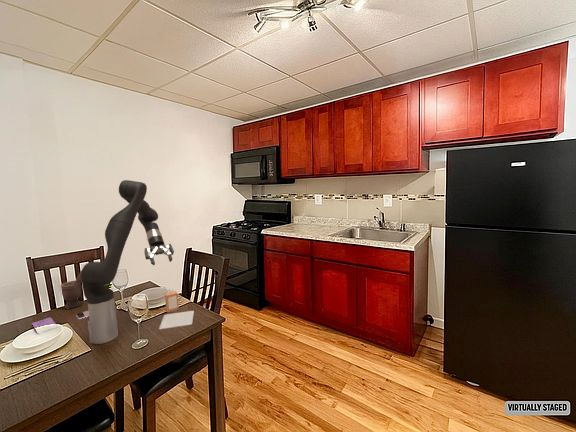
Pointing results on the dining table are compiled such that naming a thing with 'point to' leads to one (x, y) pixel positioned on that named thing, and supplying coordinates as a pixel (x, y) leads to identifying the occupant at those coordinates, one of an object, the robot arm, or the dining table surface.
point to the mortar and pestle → (72, 292)
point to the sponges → (43, 322)
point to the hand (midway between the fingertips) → (162, 262)
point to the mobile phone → (83, 314)
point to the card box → (171, 301)
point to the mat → (177, 320)
